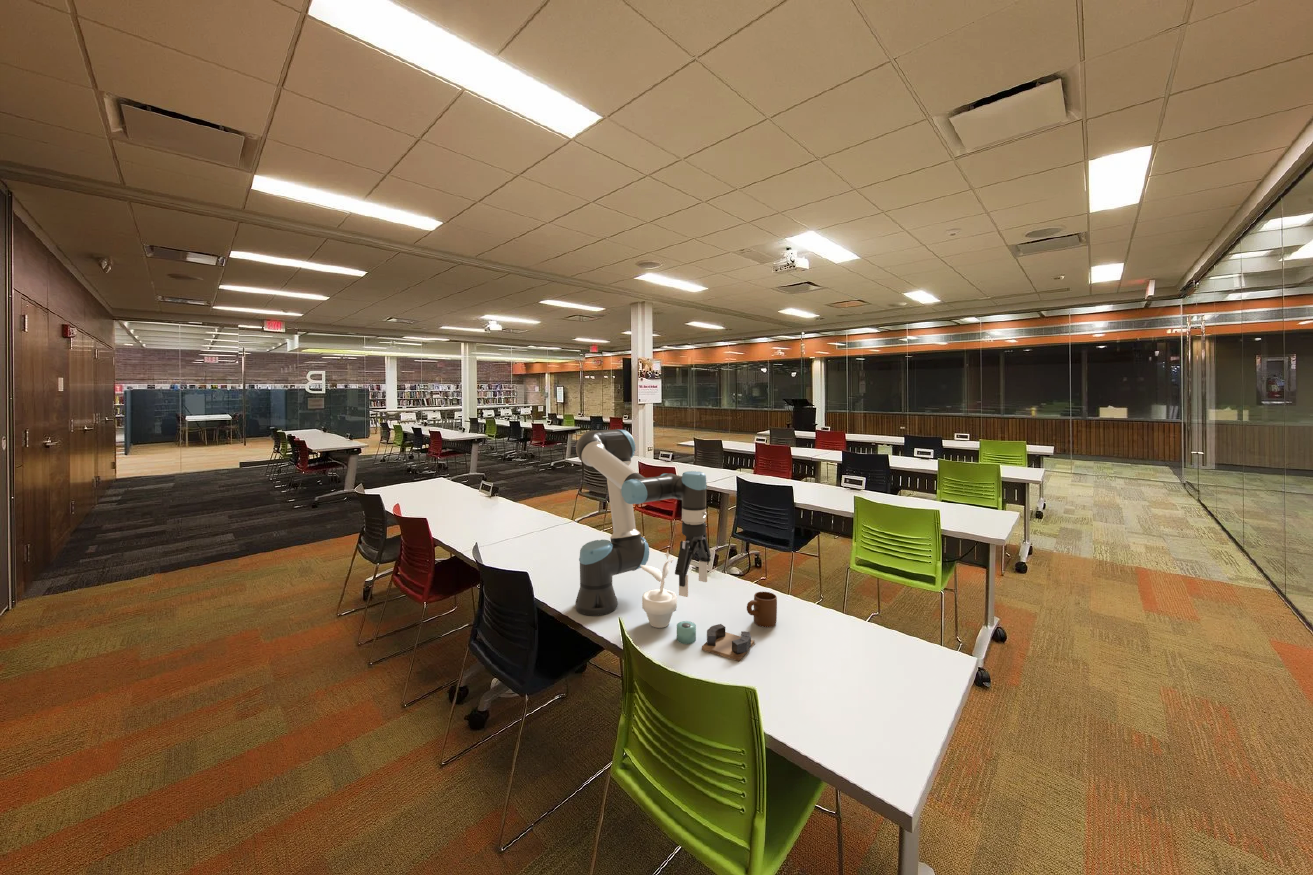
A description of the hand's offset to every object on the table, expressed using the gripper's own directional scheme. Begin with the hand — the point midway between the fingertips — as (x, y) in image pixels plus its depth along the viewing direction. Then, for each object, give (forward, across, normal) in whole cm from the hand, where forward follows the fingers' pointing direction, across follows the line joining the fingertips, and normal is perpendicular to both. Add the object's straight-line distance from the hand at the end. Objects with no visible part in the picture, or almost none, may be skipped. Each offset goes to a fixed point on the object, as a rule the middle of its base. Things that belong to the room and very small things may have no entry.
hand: (693, 588), depth 148 cm
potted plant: (+16, +2, +14) cm, 22 cm away
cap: (+16, -2, +1) cm, 16 cm away
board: (+16, 0, -12) cm, 20 cm away
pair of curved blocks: (+16, 0, -12) cm, 20 cm away
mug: (+16, +19, -15) cm, 29 cm away
